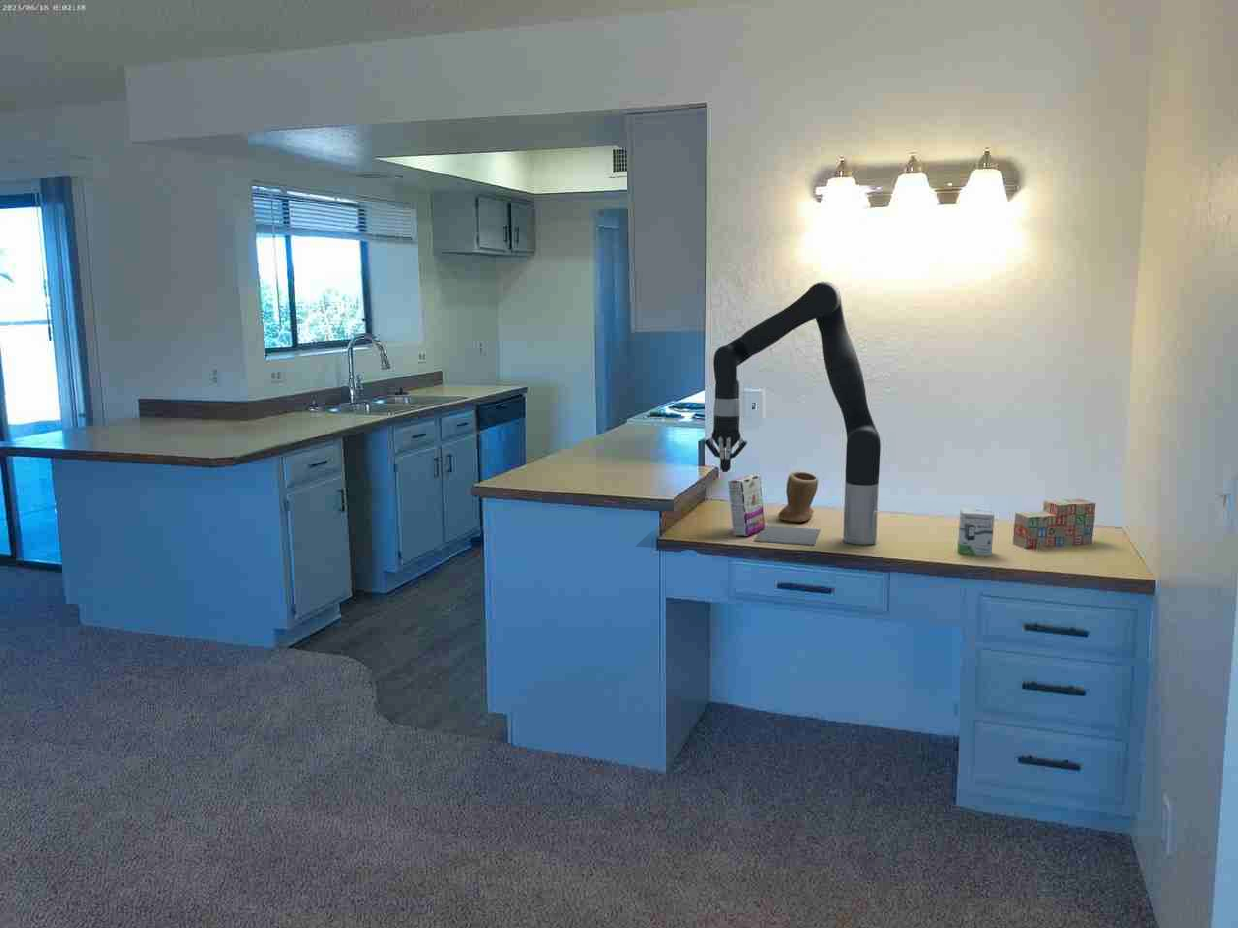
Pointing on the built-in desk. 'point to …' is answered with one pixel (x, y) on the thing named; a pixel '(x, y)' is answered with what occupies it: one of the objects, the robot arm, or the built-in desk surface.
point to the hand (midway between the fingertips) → (725, 471)
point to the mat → (788, 535)
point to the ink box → (976, 532)
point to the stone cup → (799, 497)
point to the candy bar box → (746, 505)
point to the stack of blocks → (1055, 524)
